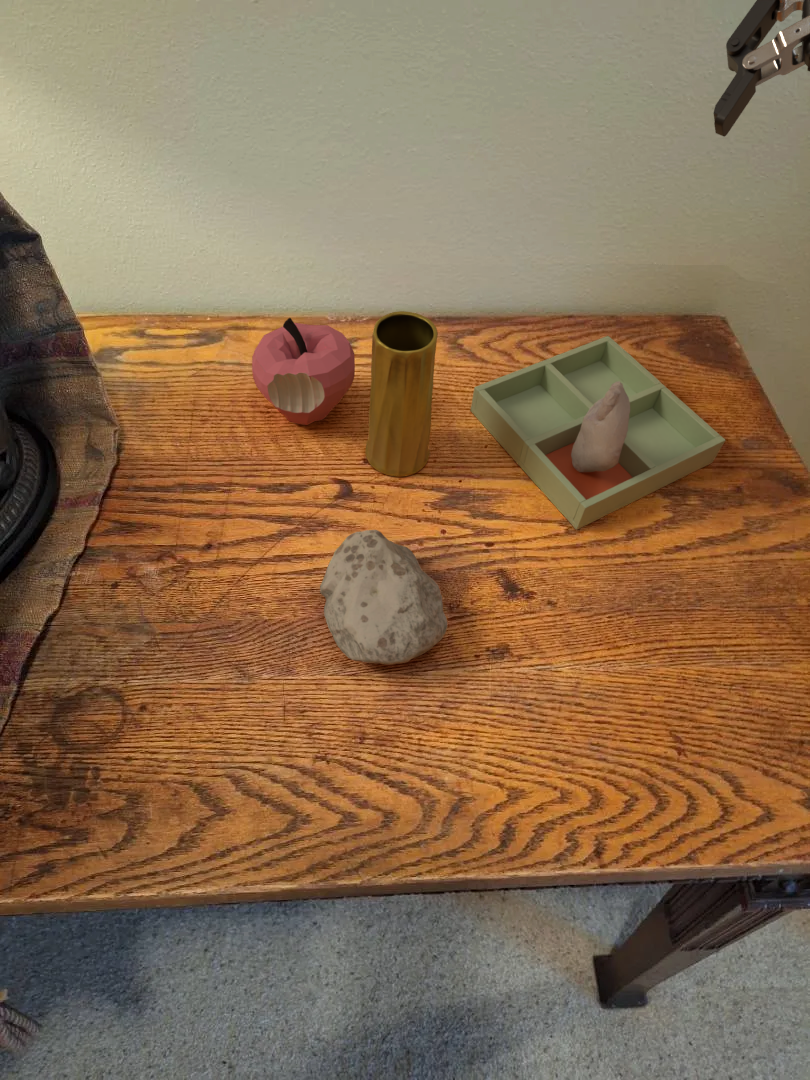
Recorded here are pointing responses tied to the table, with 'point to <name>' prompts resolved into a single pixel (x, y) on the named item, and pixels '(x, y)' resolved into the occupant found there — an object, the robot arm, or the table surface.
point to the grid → (556, 417)
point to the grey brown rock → (602, 432)
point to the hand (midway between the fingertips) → (771, 152)
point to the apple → (303, 370)
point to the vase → (401, 393)
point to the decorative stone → (381, 601)
